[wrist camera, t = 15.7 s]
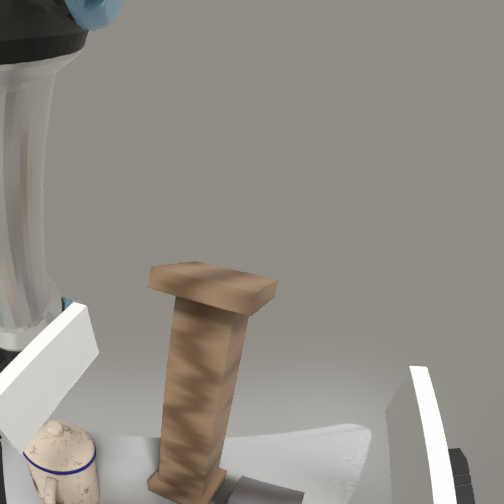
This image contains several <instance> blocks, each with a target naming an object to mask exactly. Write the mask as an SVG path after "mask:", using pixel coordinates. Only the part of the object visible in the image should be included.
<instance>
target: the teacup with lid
mask: <svg viewBox="0 0 504 504" xmlns="http://www.w3.org/2000/svg"><path fill="white" fill-rule="evenodd" d="M23 454H24V456H25V458H26V460H27V464H28V467H29V470H30V473H31V476H32V479H33V482H34V485H35V488H36V491H37V493H38V495H39V497H40V498H41V500H42V501H43V502H44V503H45V504H96V503H97V502H98V500H99V494H100V493H99V486H98V479H97V472H96V465H95V456H96V448H95V445H94V442H93V441H92V439H91V437H90V436H89V435H88V434H87V433H86V432H85V431H84V430H83V429H81V428H79V427H78V426H76V425H74V424H71V423H69V422H65V421H60V420H46V421H45V423H44V424H43V425H42V427H41V428H40V429H39V431H38V432H37V434H36V435H35V436H34V438H33V439H32V440H31V442H30V443H29V444H28V446H27V447H26V449H25V450H24V451H23Z"/></svg>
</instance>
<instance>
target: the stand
mask: <svg viewBox="0 0 504 504" xmlns="http://www.w3.org/2000/svg"><path fill="white" fill-rule="evenodd" d="M277 281H278V280H276V279H272V278H267V277H263V276H258V275H254V274H249V273H245V272H240V271H236V270H231V269H226V268H223V267H218V266H214V265H209V264H205V263H201V262H187V263H178V264H169V265H162V266H161V265H160V266H152V267H151V271H150V278H149V285H148V288H151V289H154V290H158V291H161V292H165V293H168V294H171V295H175V296H176V299H175V306H174V313H173V321H172V328H171V337H170V345H169V353H168V363H167V372H166V382H165V392H164V393H165V394H164V404H163V416H162V429H161V444H160V462H159V470H158V471H157V472H156V473H155V474H154V475H153V476H152V477H151V478H150V479H149V481H148V490H150V491H152V492H154V493H156V494H158V495H161V496H163V497H165V498H167V499H170V500H172V501H174V502H177V503H179V504H211V502H212V500H213V499H214V497H215V495H216V494H217V492H218V490H219V488H220V487H221V485H222V483H223V482H224V480H225V477H226V472H227V470H224V469H221V468H219V464H220V459H221V454H222V449H223V444H224V439H225V434H226V429H227V424H228V419H229V414H230V409H231V404H232V399H233V394H234V389H235V384H236V379H237V374H238V369H239V364H240V359H241V354H242V349H243V344H244V338H245V333H246V328H247V323H248V318H249V316H252V315H253V314H254V313H256V312H257V311H258V310H259V309H260V308H262V307H263V306H264V305H265V304H267V303H268V302H269V301H270V300H272V299H273V298H274V296H275V291H276V286H277Z"/></svg>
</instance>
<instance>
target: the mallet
mask: <svg viewBox="0 0 504 504" xmlns="http://www.w3.org/2000/svg"><path fill="white" fill-rule="evenodd" d="M304 493H305V492H301V491H296V490H292V489H288V488H284V487H280V486H276V485H272V484H268V483H265V482H261V481H258V480H254V479H251V478H248V477H245V476H241V478H240V480H239V482H238V483H237V485H236V487H235V489H234V491H233V492H232V494H231V496H230V498H229V499H228V502H227V504H302V500H303V497H304Z"/></svg>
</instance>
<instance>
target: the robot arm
mask: <svg viewBox="0 0 504 504" xmlns="http://www.w3.org/2000/svg"><path fill="white" fill-rule="evenodd" d="M123 1H124V0H0V439H1V437H2V438H3V439H4V440H5V442H6V443H7V444H8V445H9V446H10V447H11V448H13V449H14V450H16V451H17V452H18V453H20V454H22V453H23V451H24V450H25V449H26V447H27V446H28V444H29V443H30V442H31V440H32V439H33V438H34V436H35V435H36V434H37V432H38V431H39V429H40V428H41V427H42V425H43V424H44V423H45V421H46V420H47V419H48V417H49V416H50V415H51V413H52V412H53V411H54V410H55V408H56V407H57V406H58V404H59V403H60V402H61V400H62V399H63V398H64V397H65V395H66V394H67V393H68V391H69V390H70V389H71V388H72V386H73V385H74V384H75V382H76V381H77V380H78V379H79V378H80V376H81V375H82V374H83V373H84V371H85V370H86V369H87V368H88V366H89V365H90V364H91V363H92V361H93V360H94V359H95V357H96V356H97V355H98V354H99V351H98V347H97V344H96V341H95V337H94V333H93V329H92V325H91V321H90V317H89V313H88V309H87V306H85V305H82V304H79V303H76V302H73V301H71V300H69V299H66V298H65V297H61V296H60V293H59V290H58V288H57V286H56V285H55V284H54V282H53V281H52V279H51V278H50V277H49V276H47V275H46V265H45V252H44V229H43V185H44V184H43V183H44V164H45V149H46V139H47V129H48V120H49V113H50V105H51V100H52V93H53V88H54V82H55V77H56V73H57V71H58V70H59V69H61V68H62V67H63V66H64V65H66V64H67V63H68V62H69V61H71V60H72V59H73V58H75V57H76V56H77V55H79V54H80V53H81V52H82V50H83V48H84V45H85V41H86V37H87V34H88V31H89V30H92V31H95V30H96V29H102V28H106V27H108V26H109V25H110V24H112V23H113V21H114V20H115V19H116V17H117V15H118V13H119V12H120V10H121V7H122V5H123ZM385 413H386V422H387V431H388V442H389V454H390V468H391V486H392V487H391V489H392V504H475V500H474V494H473V488H472V485H471V477H470V475H469V467H468V463H467V459H466V457H465V456H464V454H463V453H462V451H461V450H460V448H457V449H447V444H446V439H445V434H444V430H443V426H442V421H441V417H440V413H439V409H438V406H437V401H436V398H435V394H434V390H433V387H432V383H431V380H430V376H429V373H428V369H427V367H420V366H409V368H408V370H407V372H406V374H405V376H404V378H403V380H402V382H401V384H400V385H399V387H398V389H397V391H396V393H395V394H394V396H393V398H392V400H391V402H390V403H389V405H388V407H387V409H386V410H385ZM0 504H7V503H6V495H5V487H4V476H3V463H2V446H1V442H0Z"/></svg>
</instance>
